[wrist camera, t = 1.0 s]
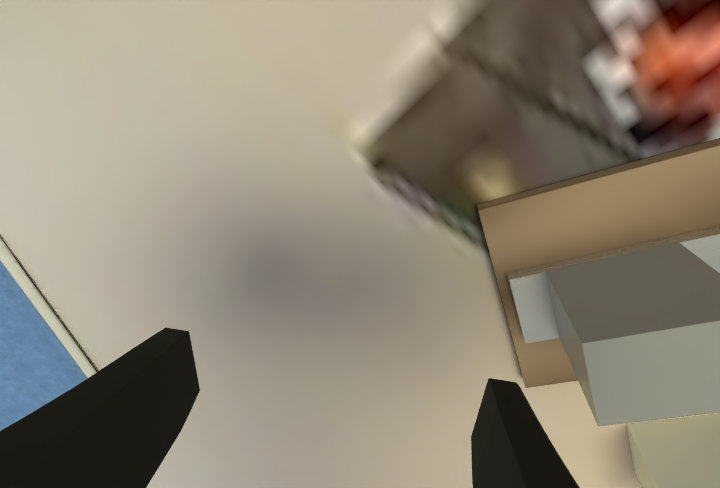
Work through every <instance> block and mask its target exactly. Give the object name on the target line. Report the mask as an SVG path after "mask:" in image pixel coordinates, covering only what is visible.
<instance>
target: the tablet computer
mask: <svg viewBox="0 0 720 488" xmlns="http://www.w3.org/2000/svg"><path fill="white" fill-rule="evenodd" d="M95 373H97V372H96V371H95V369H94V368H93V367H92V365H91V364H90V363H89V361H88V360H87V358H86V357H85V356H84V354H83V353H82V351H81V350H80V349H79V347H78V346H77V344H76V343H75V342H74V340H73V339H72V337H71V336H70V335H69V333H68V332H67V330H66V329H65V328H64V326H63V325H62V323H61V322H60V321H59V319H58V318H57V317H56V315H55V314H54V313H53V311H52V310H51V309H50V307H49V306H48V304H47V303H46V302H45V300H44V299H43V297H42V296H41V294H40V293H39V292H38V290H37V289H36V287H35V286H34V285H33V283H32V282H31V281H30V279H29V278H28V276H27V275H26V274H25V272H24V271H23V269H22V268H21V266H20V265H19V264H18V262H17V261H16V259H15V258H14V256H13V255H12V253H11V252H10V250H9V249H8V248H7V246H6V245H5V243H4V242H3V241H2V239H1V238H0V431H1V430H3V429H4V428H6V427H8V426H10V425H12V424H13V423H15V422H17V421H19V420H20V419H22V418H24V417H25V416H27V415H29V414H30V413H32V412H34V411H35V410H37V409H39V408H40V407H42V406H44V405H45V404H47V403H49V402H50V401H52V400H54V399H55V398H57V397H59V396H60V395H62V394H64V393H65V392H67V391H69V390H70V389H72V388H73V387H75V386H77V385H78V384H80V383H81V382H83V381H84V380H86V379H87V378H89V377H91V376H92V375H94V374H95Z"/></svg>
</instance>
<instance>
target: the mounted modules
mask: <svg viewBox="0 0 720 488" xmlns="http://www.w3.org/2000/svg"><path fill="white" fill-rule="evenodd" d="M545 274H546V278H547V283H548V287H549V292H550V296H551V301H552V305H553V310H554V314H555V319H556V324H557V328H558V333H559V337H560V340H561V343H562V345H563V347H564V349H565V352H566V354H567V356H568V358H569V361H570V363H571V365H572V368H573V370H574V372H575V374H576V377H577V379H578V381H579V383H580V386H581V388H582V390H583V393H584V395H585V397H586V399H587V402H588V404H589V406H590V408H591V411H592V413H593V415H594V418H595V420H596V422H597V424H598V426H605V425H614V424H623V423H631V422H640V421H649V420H658V419H666V418H675V417H684V416H692V415H701V414H710V413H719V412H720V273H719V272H717V271H716V270H715V269H713V268H712V267H711V266H709V265H708V264H707V263H705V262H704V261H703V260H701V259H700V258H699V257H698V256H696V255H695V254H694V253H692V252H691V251H690V250H688V249H687V248H686V247H684V246H683V245H682V244H680V243H679V242H676V243H672V244H667V245H662V246H658V247H653V248H649V249H644V250H640V251H635V252H630V253H626V254H621V255H617V256H612V257H608V258H603V259H598V260H594V261H589V262H585V263H580V264H576V265H571V266H566V267H562V268H557V269H553V270H548V271H545Z"/></svg>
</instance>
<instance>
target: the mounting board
mask: <svg viewBox="0 0 720 488" xmlns="http://www.w3.org/2000/svg"><path fill="white" fill-rule="evenodd" d="M477 208H478V212H479V215H480V219H481V223H482V226H483V230H484V234H485V238H486V241H487V245H488V249H489V253H490V256H491V260H492V264H493V268H494V271H495V275H496V279H497V283H498V286H499V290H500V294H501V298H502V301H503V305H504V309H505V313H506V316H507V320H508V324H509V327H510V331H511V335H512V339H513V342H514V346H515V350H516V354H517V357H518V361H519V365H520V369H521V372H522V376H523V380H524V384H525V387H526V388H528V387H535V386H542V385H549V384H556V383H563V382H570V381H577V380H578V379H577V377H576V374H575V372H574V370H573V368H572V365H571V363H570V361H569V358H568V356H567V354H566V352H565V349H564V347H563V345H562V343H561V340H560V338H556V339H550V340H545V341H539V342H533V343H527V344H525V341H524V337H523V334H522V330H521V326H520V322H519V318H518V314H517V311H516V307H515V303H514V299H513V295H512V291H511V287H510V283H509V279H508V275H507V272H512V271H516V270H521V269H525V268H530V267H534V266H539V265H543V264H547V263H552V262H556V261H561V260H565V259H570V258H574V257H579V256H583V255H588V254H592V253H597V252H601V251H606V250H610V249H615V248H619V247H624V246H628V245H633V244H637V243H642V242H646V241H650V240H655V239H659V238H664V237H668V236H673V235H677V234H682V233H686V232H691V231H695V230H700V229H704V228H709V227H713V226H718V225H720V138H719V139H715V140H711V141H708V142H704V143H700V144H697V145H693V146H689V147H686V148H682V149H678V150H675V151H671V152H667V153H664V154H660V155H657V156H653V157H649V158H646V159H642V160H638V161H635V162H631V163H627V164H624V165H620V166H616V167H613V168H609V169H605V170H602V171H598V172H594V173H591V174H587V175H583V176H580V177H576V178H572V179H569V180H565V181H562V182H558V183H554V184H551V185H547V186H543V187H540V188H536V189H532V190H529V191H525V192H521V193H518V194H514V195H510V196H507V197H503V198H499V199H496V200H492V201H488V202H485V203H481V204H477Z"/></svg>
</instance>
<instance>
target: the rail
mask: <svg viewBox="0 0 720 488" xmlns="http://www.w3.org/2000/svg"><path fill="white" fill-rule="evenodd" d="M676 242H679V243H680V244H682V245H683V246H684V247H686V248H687V249H688V250H690V251H691V252H692V253H694V254H695V255H696V256H698V257H699V258H700V259H701V260H703V261H704V262H705V263H707V264H708V265H709V266H711V267H712V268H713V269H715V270H716V271H717V272H719V273H720V225H718V226H713V227H709V228H704V229H700V230H695V231H691V232H686V233H682V234H677V235H673V236H668V237H664V238H659V239H655V240H650V241H646V242H642V243H637V244H633V245H628V246H624V247H619V248H615V249H610V250H606V251H601V252H597V253H592V254H588V255H583V256H579V257H574V258H570V259H565V260H561V261H556V262H552V263H547V264H543V265H539V266H534V267H530V268H525V269H521V270H516V271H512V272H507V275H508V279H509V283H510V287H511V291H512V295H513V299H514V303H515V307H516V311H517V314H518V318H519V322H520V326H521V330H522V334H523V337H524V341H525V344H527V343H533V342H539V341H545V340H550V339H556V338H560V337H559V333H558V328H557V324H556V319H555V314H554V310H553V305H552V301H551V296H550V292H549V287H548V283H547V278H546V274H545V271H548V270H553V269H557V268H562V267H566V266H571V265H576V264H580V263H585V262H589V261H594V260H598V259H603V258H608V257H612V256H617V255H621V254H626V253H630V252H635V251H640V250H644V249H649V248H653V247H658V246H662V245H667V244H672V243H676Z"/></svg>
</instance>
